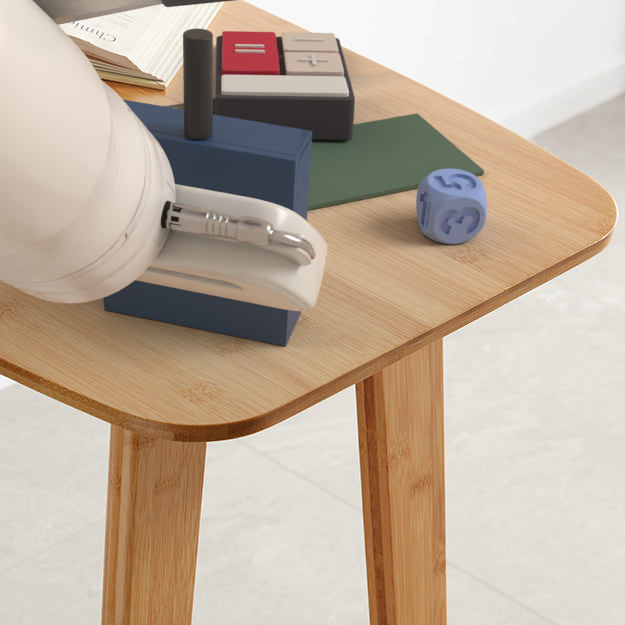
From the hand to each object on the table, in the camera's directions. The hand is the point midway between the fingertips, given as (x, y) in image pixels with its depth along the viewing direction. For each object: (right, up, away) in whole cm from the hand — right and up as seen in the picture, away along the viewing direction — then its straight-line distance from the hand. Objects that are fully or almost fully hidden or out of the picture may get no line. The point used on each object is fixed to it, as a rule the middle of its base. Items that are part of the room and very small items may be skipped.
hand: (153, 263), depth 61 cm
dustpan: (+2, -3, +12) cm, 12 cm away
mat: (+9, +8, +27) cm, 30 cm away
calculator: (+6, +15, +36) cm, 40 cm away
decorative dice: (+18, +3, +21) cm, 28 cm away
